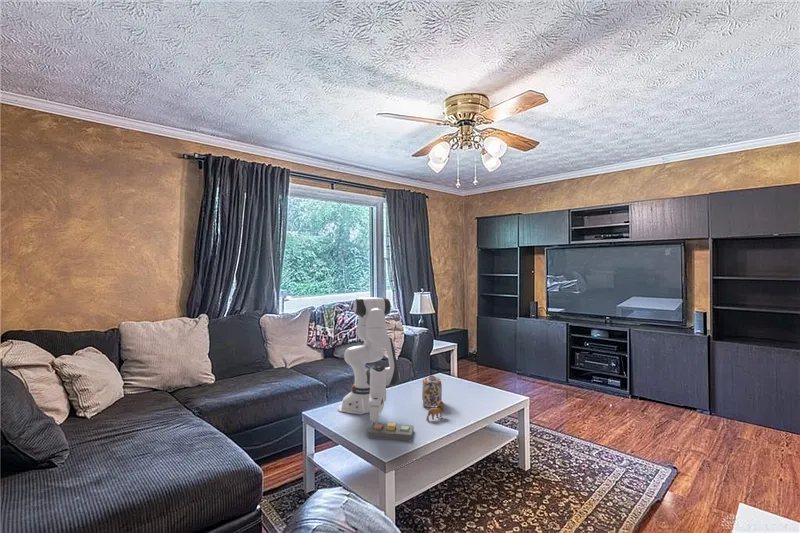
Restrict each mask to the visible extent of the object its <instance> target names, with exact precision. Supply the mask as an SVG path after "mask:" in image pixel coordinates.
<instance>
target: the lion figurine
mask: <svg viewBox="0 0 800 533" xmlns="http://www.w3.org/2000/svg"><path fill="white" fill-rule="evenodd" d="M444 409H445V403H444V402H443V400H442V401H439V402H438V404H437V407H430V409H428V413H427V415H426V421H427V420H428V422H429V420H430V419H429V418H430V416H431V419H432V421H433V420H434V419H435V418H434V417H436V416H438V417H439V418H440V417H442V414H443V412H444ZM435 415H436V416H435Z"/></svg>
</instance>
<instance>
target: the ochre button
mask: <svg viewBox="0 0 800 533" xmlns="http://www.w3.org/2000/svg"><path fill="white" fill-rule="evenodd" d="M387 424H388V425H387V430H392V431H395V430H396V424H397V423H396V422H387Z"/></svg>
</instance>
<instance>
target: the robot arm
mask: <svg viewBox="0 0 800 533" xmlns="http://www.w3.org/2000/svg"><path fill="white" fill-rule="evenodd" d="M353 302H354V303H353V307H352V308H353V312H354V314H355V315H357V316H358V318H357V327H356V328H357V329H356V330H357V331H356V335H357V337H358V338H359V340H362V341H363V344H362V345H354V346H350V347H348V348H346V349H345V351H344V354H343V359H344V361H345V362H346V364H347V365H349V366H350V367H351V368H352V370H353V374H354V383H353V384H352V386H351V391H350V392H349V393H347V394H346V395H345V396H344V397H343V399H342V401H341V403H340V404H339V406H338V407H337V411H338V412H339V413H340V412H341V413H348V414H354V415H364V414H366V413H367V414H368V413H369V420H370V422H374V423H375V424H378V423H380V417H381V414H382V411H383V410H384V407H385V402H386V401H387V387H386V386H388V387H389V386H390V387H391V386H392V387H395V386H396V385H397V384H398V383H399V382H400V379H401V377H400V376H401V375H400V371H399V367H398V363H397V357H396V356H397V355H396V350H395V347H394V341H393V339H392V338H391V337H390V336H389V334H388V332H387V322H386V320H387V319H386V316H387V315H389V314H390V312H391V309H392V304H391V301H390V299H389V298H386V297H374V296H372V297H358V298H356V299H355V300H354V301H353ZM384 350H385V351H386V352H387V357H388V358H387V359H388V365H389V366H387V367H385V365H383V364H378V363H377V364H373V365H372V366H371V367H369V368H368V367H367V366H366V364H368V363H376V362H378V361H381V360H382V359H383V358H384V354H385V352H384Z"/></svg>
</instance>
